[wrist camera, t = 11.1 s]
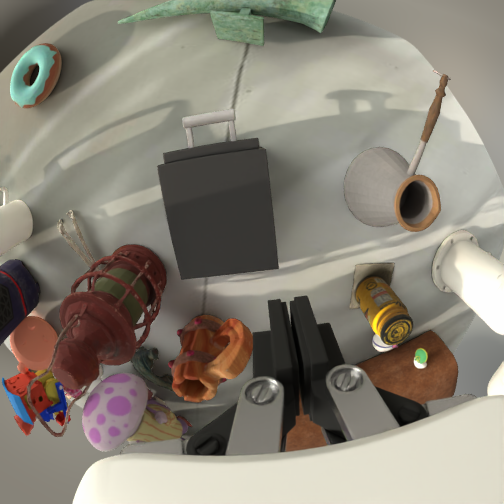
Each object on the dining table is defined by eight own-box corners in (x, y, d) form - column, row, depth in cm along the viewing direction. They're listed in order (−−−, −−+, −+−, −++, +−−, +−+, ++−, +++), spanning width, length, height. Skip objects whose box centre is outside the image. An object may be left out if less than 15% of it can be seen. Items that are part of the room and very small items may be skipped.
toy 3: (427, 368, 40) (402, 385, 38) (387, 337, 51) (360, 349, 48) (438, 345, 39) (413, 361, 36) (394, 314, 49) (367, 325, 46)
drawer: (175, 123, 34) (157, 119, 26) (252, 110, 33) (253, 102, 26) (195, 236, 40) (183, 258, 33) (267, 227, 39) (271, 248, 32)
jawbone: (58, 221, 39) (52, 225, 37) (74, 207, 39) (68, 211, 37) (112, 299, 46) (109, 305, 44) (130, 289, 45) (127, 295, 44)
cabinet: (178, 159, 36) (156, 165, 28) (261, 147, 36) (265, 148, 27) (195, 249, 42) (181, 279, 33) (272, 240, 41) (278, 269, 32)
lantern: (100, 237, 40) (-28, 356, 13) (169, 239, 41) (64, 399, 13) (112, 302, 45) (28, 435, 17) (175, 308, 45) (118, 471, 17)
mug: (204, 353, 49) (192, 417, 35) (172, 326, 47) (149, 389, 33) (265, 313, 46) (271, 380, 32) (233, 281, 44) (226, 344, 30)
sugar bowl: (26, 301, 44) (27, 320, 49) (-4, 349, 33) (2, 363, 38) (69, 332, 48) (65, 347, 53) (42, 384, 37) (43, 393, 42)
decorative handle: (129, 347, 49) (119, 364, 45) (151, 340, 47) (141, 359, 43) (174, 391, 55) (167, 409, 50) (197, 388, 53) (191, 406, 48)
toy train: (61, 374, 44) (11, 403, 30) (81, 425, 47) (41, 454, 33) (39, 357, 47) (-6, 380, 33) (58, 407, 50) (20, 431, 36)
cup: (27, 178, 36) (-10, 190, 27) (36, 240, 40) (3, 262, 31) (3, 182, 36) (-31, 194, 26) (12, 239, 40) (-19, 259, 31)
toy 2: (215, 484, 44) (108, 485, 24) (152, 436, 58) (56, 406, 38) (249, 426, 52) (154, 401, 32) (180, 386, 66) (90, 340, 45)
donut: (13, 104, 30) (-1, 104, 26) (34, 45, 26) (21, 41, 22) (51, 112, 32) (37, 112, 28) (76, 46, 28) (63, 41, 24)
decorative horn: (105, 15, 23) (327, 34, 23) (138, -31, 21) (341, -15, 21) (125, 35, 30) (318, 61, 30) (152, -9, 28) (331, 12, 28)
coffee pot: (395, 226, 40) (449, 265, 26) (331, 215, 40) (370, 254, 26) (417, 99, 32) (481, 91, 18) (352, 75, 32) (403, 48, 18)
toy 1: (60, 405, 52) (72, 404, 45) (49, 387, 52) (58, 382, 45) (78, 393, 59) (94, 390, 52) (67, 376, 59) (81, 369, 52)
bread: (431, 366, 53) (454, 404, 41) (285, 423, 59) (290, 468, 47) (432, 323, 48) (464, 364, 36) (262, 391, 54) (265, 444, 41)
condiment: (349, 308, 46) (372, 354, 35) (355, 264, 43) (385, 304, 32) (385, 304, 46) (414, 346, 35) (393, 262, 43) (429, 298, 31)
